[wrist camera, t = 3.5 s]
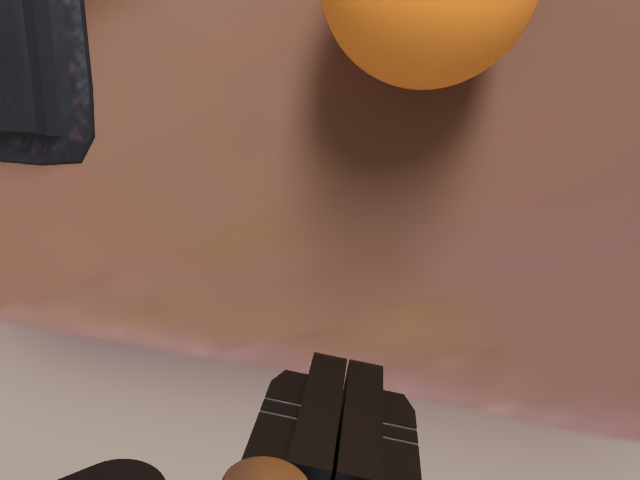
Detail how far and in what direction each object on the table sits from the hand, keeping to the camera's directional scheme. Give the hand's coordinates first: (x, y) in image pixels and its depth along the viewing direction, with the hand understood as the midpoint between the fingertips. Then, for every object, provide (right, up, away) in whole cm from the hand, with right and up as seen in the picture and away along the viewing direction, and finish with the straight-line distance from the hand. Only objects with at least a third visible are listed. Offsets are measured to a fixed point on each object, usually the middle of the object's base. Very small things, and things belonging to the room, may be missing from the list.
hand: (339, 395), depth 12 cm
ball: (+3, +11, +3) cm, 11 cm away
